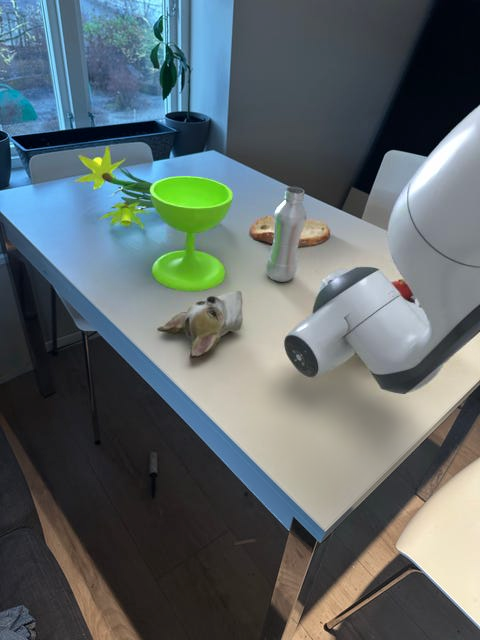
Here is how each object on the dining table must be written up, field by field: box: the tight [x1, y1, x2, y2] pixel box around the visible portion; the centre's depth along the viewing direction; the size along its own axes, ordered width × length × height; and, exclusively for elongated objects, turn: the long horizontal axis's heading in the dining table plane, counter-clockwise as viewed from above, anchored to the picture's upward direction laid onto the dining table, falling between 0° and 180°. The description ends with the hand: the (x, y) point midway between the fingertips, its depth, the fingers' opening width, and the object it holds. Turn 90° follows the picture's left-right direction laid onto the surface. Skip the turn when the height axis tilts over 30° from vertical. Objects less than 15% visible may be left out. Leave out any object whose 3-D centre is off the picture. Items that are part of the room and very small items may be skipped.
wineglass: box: [149, 175, 234, 292], centre depth 92 cm, size 16×16×18 cm
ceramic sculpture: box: [156, 290, 244, 360], centre depth 78 cm, size 11×9×15 cm
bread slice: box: [248, 215, 331, 248], centre depth 115 cm, size 18×18×4 cm
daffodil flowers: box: [74, 145, 155, 230], centre depth 110 cm, size 17×15×35 cm
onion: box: [390, 278, 413, 301], centre depth 82 cm, size 6×6×8 cm
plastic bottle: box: [266, 186, 307, 282], centre depth 93 cm, size 6×7×20 cm
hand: (400, 290), depth 82 cm, fingers closed on onion, 5 cm apart
